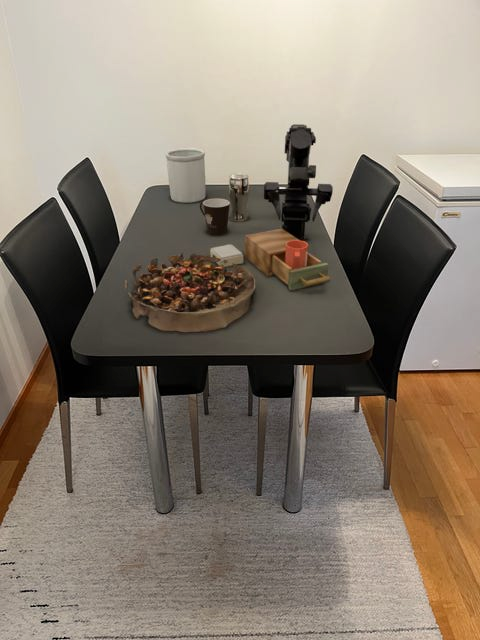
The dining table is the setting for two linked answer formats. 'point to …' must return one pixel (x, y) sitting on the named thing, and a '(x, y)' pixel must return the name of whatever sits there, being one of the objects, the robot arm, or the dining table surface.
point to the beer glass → (238, 196)
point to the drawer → (299, 272)
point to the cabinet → (266, 247)
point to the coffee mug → (216, 215)
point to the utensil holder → (186, 174)
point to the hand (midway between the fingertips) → (296, 220)
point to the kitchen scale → (227, 255)
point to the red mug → (296, 254)
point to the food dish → (191, 294)
